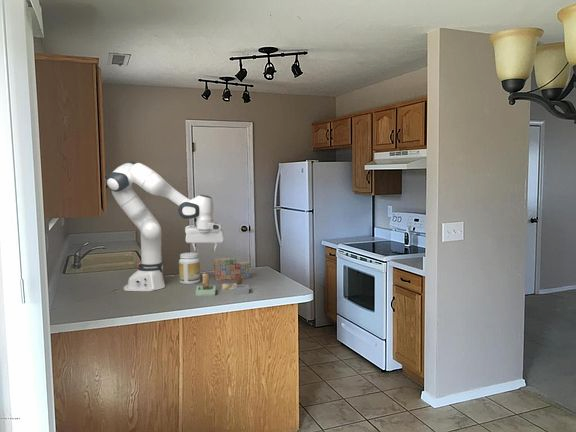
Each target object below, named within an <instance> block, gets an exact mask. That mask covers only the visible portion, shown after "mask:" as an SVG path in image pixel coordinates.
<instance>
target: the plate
mask: <svg viewBox="0 0 576 432" xmlns="http://www.w3.org/2000/svg"><path fill="white" fill-rule="evenodd" d="M234 285H237V282H236V283H235V282H234V283H233V282H232V283H222V284H221V290H222V291H230V290H231V289H234ZM231 291H232V290H231Z"/></svg>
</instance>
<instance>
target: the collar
mask: <svg viewBox="0 0 576 432" xmlns="http://www.w3.org/2000/svg"><path fill="white" fill-rule="evenodd" d="M233 294H234V295H239V294H242V295H243V294H244V295H245V294H250V285H249V284H242V285H234V290H233Z"/></svg>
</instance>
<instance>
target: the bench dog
mask: <svg viewBox="0 0 576 432" xmlns="http://www.w3.org/2000/svg"><path fill="white" fill-rule="evenodd" d="M236 283H237V285H243V278H242V277H237V279H236Z"/></svg>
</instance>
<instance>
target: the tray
mask: <svg viewBox="0 0 576 432" xmlns="http://www.w3.org/2000/svg"><path fill="white" fill-rule="evenodd" d="M216 287H217V286H216V285H215V284H214V285H213V284H211V285H210V284H209V290H203V285H197V286H196V289H195V297H208V296H209V297H212V296H213V297H214V296H216V292H217V291H216V290H217V288H216Z"/></svg>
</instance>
